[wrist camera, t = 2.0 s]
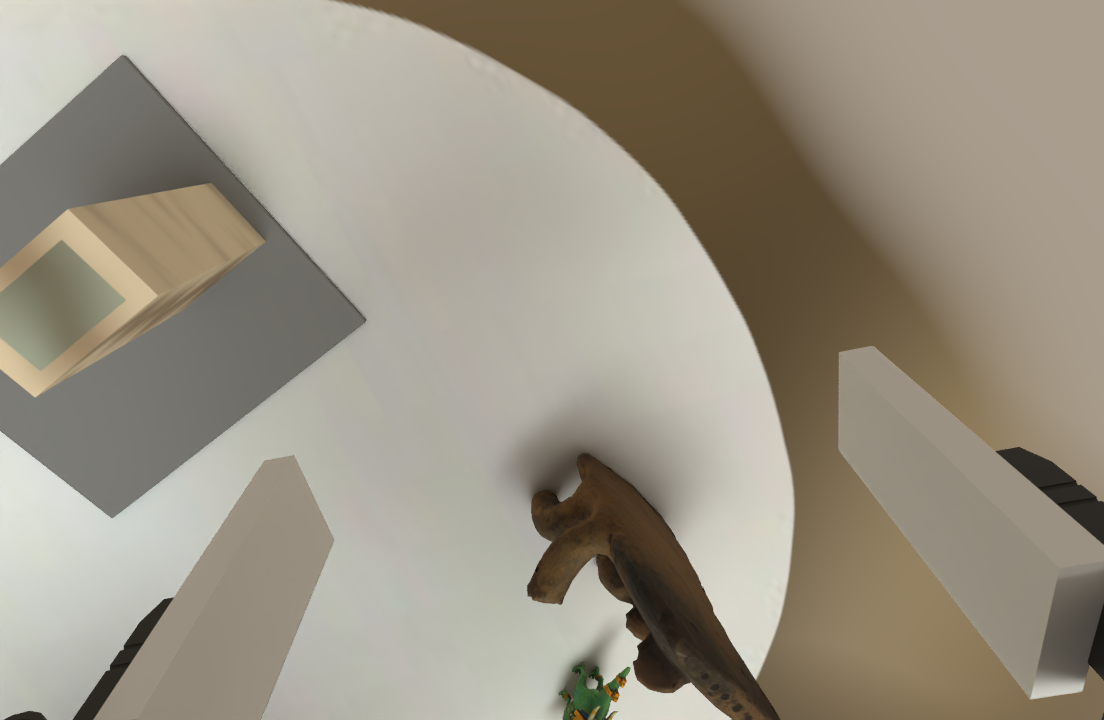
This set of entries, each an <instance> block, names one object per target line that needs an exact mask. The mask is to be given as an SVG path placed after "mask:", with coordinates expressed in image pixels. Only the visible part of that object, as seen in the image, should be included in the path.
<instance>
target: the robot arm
mask: <svg viewBox="0 0 1104 720" xmlns="http://www.w3.org/2000/svg"><path fill="white" fill-rule="evenodd" d="M839 451H840V452H841V454H842V455H843V456H844V458H845V459H846V460H847V462H848V463H849V464H850V465H851V467H852V468H853V469H854V471H855V472H856V473H857V475H858V476H859V477H860V478H861V480H862V481H863V482H864V483H865V485H866V486H867V488H868V489H869V490H870V491H871V493H872V494H873V495H874V497H875V498H876V499H877V501H878V502H879V503H880V504H881V506H882V507H883V508H884V510H885V511H886V512H887V514H888V515H889V516H890V517H891V519H892V520H893V521H894V522H895V524H896V525H897V527H898V528H899V529H900V530H901V532H902V533H903V534H904V536H905V537H906V538H907V539H908V541H909V542H910V543H911V544H912V546H913V547H914V548H915V550H916V551H917V553H918V554H919V555H920V556H921V558H922V559H923V560H924V562H925V563H926V564H927V566H928V567H929V568H930V569H931V571H932V572H933V573H934V575H935V576H936V577H937V579H938V580H939V581H940V583H941V584H942V585H943V586H944V588H945V589H946V590H947V592H948V593H949V594H950V596H951V597H952V598H953V599H954V601H955V602H956V603H957V605H958V606H959V607H960V609H961V610H962V611H963V612H964V614H965V615H966V616H967V617H968V619H969V620H970V622H971V623H972V624H973V625H974V626H975V628H976V629H977V631H978V632H979V633H980V635H981V636H982V637H983V638H984V640H985V641H986V642H987V644H988V645H989V646H990V648H991V649H992V650H993V651H994V653H995V654H996V655H997V657H998V658H999V659H1000V660H1001V662H1002V663H1003V664H1004V666H1005V667H1006V668H1007V670H1008V671H1009V672H1010V673H1011V675H1012V676H1013V677H1014V679H1015V680H1016V681H1017V683H1018V684H1019V685H1020V687H1021V688H1022V689H1023V690H1024V692H1025V693H1026V694H1027V696H1028V697H1029V698H1030V699H1036V698H1042V697H1049V696H1056V695H1062V694H1069V693H1076V692H1082V690H1083V687H1084V683H1085V680H1086V676H1087V672H1088V669H1089V665H1090V666H1091V667H1092V668H1093V669H1094V670H1095V671H1096V672H1097V673H1098V674H1099V676H1100V677H1102V679H1103V680H1104V502H1102V501H1098V500H1097V498H1096V496H1095V495H1093V494H1092V493H1091V492H1090V491H1088V490H1087V489H1086V488H1084V487H1083V486H1082V485H1077V483H1076V480H1074V479H1073V478H1072V477H1071V476H1069V475H1068V474H1067V473H1065V472H1064V471H1063V470H1062V469H1060V468H1059V467H1058V466H1057V465H1055V464H1054V463H1053V462H1051V461H1049V460H1047V459H1045V458H1043V457H1040V456H1038V455H1036V454H1034V453H1031V452H1029V451H1027V450H1025V449H1022V448H1020V447H1017V448H1012V449H1005V450H1000V451H994V450H993V449H992V448H991V447H989V446H988V445H987V444H986V443H985V442H984V441H983V440H981V439H980V438H979V437H978V436H977V435H976V434H974V433H973V432H972V431H971V430H970V429H969V428H968V427H966V426H965V425H964V424H963V423H962V422H961V421H959V420H958V419H957V418H956V417H955V416H954V415H952V414H951V413H950V412H949V411H948V410H947V409H945V408H944V407H943V406H942V405H941V404H939V403H938V402H937V401H936V400H935V399H934V398H933V397H932V396H930V395H929V394H928V393H927V392H926V391H925V390H923V389H922V388H921V387H920V386H919V385H918V384H917V383H915V382H914V381H913V380H912V379H910V378H909V377H908V376H907V375H906V374H905V373H904V372H903V371H901V370H900V369H899V368H898V367H897V366H896V365H894V364H893V363H892V362H891V361H890V360H889V359H887V358H886V357H885V356H884V355H883V354H882V353H881V352H879V351H878V350H877V349H876V348H875V347H874V346H870V347H865V348H859V349H854V350H849V351H844V352H839ZM333 542H334V538H333V536H332V534H331V532H330V530H329V528H328V526H327V524H326V522H325V520H324V517H323V515H322V513H321V511H320V509H319V507H318V505H317V503H316V501H315V498H314V496H313V494H312V492H311V490H310V488H309V486H308V484H307V482H306V479H305V477H304V475H303V473H302V471H301V469H300V467H299V465H298V463H297V460H296V458H295V456H294V455H293V456H288V457H283V458H278V459H272V460H267V461H264V462H263V464H262V465H261V467H260V468H259V470H258V471H257V473H256V474H255V476H254V477H253V479H252V480H251V482H250V483H249V485H248V486H247V488H246V489H245V491H244V492H243V494H242V495H241V497H240V498H239V500H238V501H237V503H236V504H235V506H234V508H233V509H232V511H231V512H230V514H229V515H228V517H227V518H226V520H225V521H224V523H223V524H222V526H221V527H220V529H219V530H218V532H217V533H216V535H215V536H214V538H213V539H212V541H211V542H210V544H209V545H208V547H207V548H206V550H205V551H204V553H203V554H202V556H201V558H200V559H199V561H198V562H197V564H196V565H195V567H194V568H193V570H192V571H191V573H190V574H189V576H188V577H187V579H186V580H185V582H184V583H183V585H182V586H181V588H180V589H179V591H178V592H177V594H176V595H175V597H173V598H168V599H164V600H163V601H162V602H161V603H160V604H159V605H158V606H157V607H155V608H154V609H153V610H152V611H151V612H150V613H149V614H148V615H147V616H146V617H145V618H144V619H143V620H142V621H141V622H140V623H139V624H138V626H137V627H136V629H135V630H134V632H133V633H132V635H131V636H130V637H129V639H128V640H127V642H126V643H125V645H124V650H122V651H120V652H119V653H118V655H117V656H116V658H115V659H114V661H113V662H112V663H111V665H110V670H109V671H106V672H105V674H104V675H103V677H102V678H101V679H100V681H99V682H98V684H97V685H96V687H95V688H94V690H93V691H92V692H91V694H90V695H89V697H88V698H87V700H86V701H85V703H84V704H83V705H82V707H81V708H80V710H79V711H78V713H77V714H76V716H75V717H74V718H73V720H261V718H262V715H263V713H264V711H265V708H266V706H267V703H268V701H269V698H270V696H271V693H272V691H273V689H274V686H275V684H276V681H277V679H278V676H279V674H280V671H281V669H282V667H283V664H284V662H285V659H286V657H287V654H288V652H289V649H290V647H291V645H292V642H293V640H294V637H295V635H296V632H297V630H298V627H299V625H300V623H301V620H302V618H303V615H304V613H305V610H306V608H307V605H308V603H309V601H310V598H311V596H312V593H313V591H314V588H315V586H316V583H317V581H318V579H319V576H320V574H321V571H322V569H323V566H324V564H325V561H326V559H327V557H328V554H329V552H330V549H331V547H332V544H333ZM4 720H47V719H46V718H45V717H44V716H43V715H42V714H41V713H39V712H33V711H27V712H23V713H20V714H16V715H12V716H10V717H8V718H6V719H4ZM1102 720H1104V714H1103V717H1102Z"/></svg>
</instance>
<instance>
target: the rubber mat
mask: <svg viewBox="0 0 1104 720" xmlns="http://www.w3.org/2000/svg"><path fill="white" fill-rule="evenodd" d="M207 183H212V184H213V185H214V186H215V187H216V188H217V189H218V190H219V191H220V193H221V194H222V195H223V196H224V197H225V198H226V199H227V200H228V201H229V202H230V203H231V204H232V205H233V206H234V208H235V209H236V210H237V211H238V212H239V213H240V214H241V215H242V216H243V217H244V218H245V219H246V220H247V222H248V223H249V224H250V225H251V226H252V227H253V228H254V229H255V230H256V231H257V232H258V233H259V234H260V235H261V237H262V238H263V239H264V240H265V241H266V242H265V243H264V244H263V245H261V246H260V247H259V248H258V249H256V250H255V251H254V252H253V253H252V254H250V255H249V256H248V257H247V258H246V259H244V260H243V261H242V262H241V263H239V264H238V265H237V266H236V267H235V268H233V269H232V270H231V271H230V272H228V273H227V274H226V275H225V276H224V277H222V278H221V279H220V280H219V281H217V282H216V283H215V284H214V285H213V286H211V287H210V288H209V289H208V290H206V291H205V292H204V293H203V294H202V295H200V296H199V297H198V298H197V299H195V300H194V301H193V302H192V303H191V304H189V305H188V306H187V307H186V308H184V309H183V310H182V311H181V312H179V313H178V314H176V315H174V316H172V317H171V318H169V319H167V320H166V321H164V322H162V323H161V324H159V325H157V326H156V327H154V328H152V329H150V330H149V331H147V332H145V333H144V334H142V335H140V336H139V337H137V338H135V339H134V340H132V341H130V342H128V343H127V344H125V345H123V346H122V347H120V348H118V349H117V350H115V351H113V352H112V353H110V354H108V355H106V356H105V357H103V358H101V359H100V360H98V361H96V362H95V363H93V364H91V365H90V366H88V367H86V368H84V369H83V370H81V371H79V372H78V373H76V374H74V375H73V376H71V377H69V378H68V379H66V380H64V381H62V382H61V383H59V384H57V385H56V386H54V387H52V388H51V389H49V390H47V391H46V392H44V393H42V394H40V395H39V396H37V397H34V396H32V395H31V394H30V393H29V392H28V391H26V390H25V389H24V388H23V387H21V386H20V385H19V384H18V383H17V382H15V381H14V380H13V379H12V378H10V377H9V376H8V375H7V374H6V373H4V372H3V371H2V370H1V369H0V431H1V432H2V433H4V434H5V435H6V436H7V437H9V438H10V439H11V440H13V441H14V442H15V443H16V444H18V445H19V446H20V447H22V448H23V449H24V450H25V451H27V452H28V453H29V454H30V455H32V456H33V457H34V458H36V459H37V460H38V461H39V462H41V463H42V464H43V465H44V466H46V467H47V468H48V469H50V470H51V471H52V472H53V473H55V474H56V475H57V476H59V477H60V478H61V479H62V480H64V481H65V482H66V483H67V484H69V485H70V486H71V487H73V488H74V489H75V490H76V491H78V492H79V493H80V494H81V495H83V496H84V497H85V498H87V499H88V500H89V501H90V502H92V503H93V504H94V505H96V506H97V507H98V508H99V509H101V510H102V511H103V512H104V513H106V514H107V515H108V516H110V517H111V518H114V517H115V516H116V515H117V514H119V513H120V512H121V511H123V510H124V509H125V508H126V507H128V506H129V505H130V504H132V503H133V502H134V501H135V500H137V499H138V498H139V497H141V496H142V495H143V494H145V493H146V492H147V491H148V490H150V489H151V488H152V487H154V486H155V485H156V484H157V483H159V482H160V481H161V480H163V479H164V478H165V477H166V476H168V475H169V474H170V473H172V472H173V471H174V470H175V469H177V468H178V467H179V466H181V465H182V464H183V463H184V462H186V461H187V460H188V459H190V458H191V457H192V456H193V455H195V454H196V453H197V452H199V451H200V450H201V449H202V448H204V447H205V446H206V445H208V444H209V443H210V442H211V441H213V440H214V439H215V438H217V437H218V436H219V435H220V434H222V433H223V432H224V431H226V430H227V429H228V428H230V427H231V426H232V425H233V424H235V423H236V422H237V421H239V420H240V419H241V418H242V417H244V416H245V415H246V414H248V413H249V412H250V411H251V410H253V409H254V408H255V407H257V406H258V405H259V404H260V403H262V402H263V401H264V400H266V399H267V398H268V397H269V396H271V395H272V394H273V393H275V392H276V391H277V390H278V389H280V388H281V387H282V386H284V385H285V384H286V383H287V382H289V381H290V380H291V379H293V378H294V377H295V376H296V375H298V374H299V373H300V372H302V371H303V370H304V369H305V368H307V367H308V366H309V365H311V364H312V363H313V362H315V361H316V360H317V359H318V358H320V357H321V356H322V355H324V354H325V353H326V352H327V351H329V350H330V349H331V348H333V347H334V346H335V345H336V344H338V343H339V342H340V341H342V340H343V339H344V338H345V337H347V336H348V335H349V334H351V333H352V332H353V331H354V330H356V329H357V328H358V327H360V326H361V325H362V324H363V323H365V322H366V319H365V318H364V317H363V316H362V315H361V314H360V313H359V312H358V311H357V310H356V308H355V307H354V306H353V305H352V304H351V303H350V302H349V301H348V300H347V299H346V297H345V296H344V295H343V294H342V293H341V292H340V291H339V290H338V289H337V288H336V286H335V285H334V284H333V283H332V282H331V281H330V280H329V279H328V278H327V277H326V276H325V274H324V273H323V272H322V271H321V270H320V269H319V268H318V267H317V266H316V265H315V263H314V262H313V261H312V260H311V259H310V258H309V257H308V256H307V255H306V254H305V252H304V251H303V250H302V249H301V248H300V247H299V246H298V245H297V244H296V243H295V242H294V240H293V239H292V238H291V237H290V236H289V235H288V234H287V233H286V232H285V231H284V229H283V228H282V227H281V226H280V225H279V224H278V223H277V222H276V221H275V220H274V218H273V217H272V216H271V215H270V214H269V213H268V212H267V211H266V210H265V209H264V208H263V206H262V205H261V204H260V203H259V202H258V201H257V200H256V199H255V198H254V197H253V195H252V194H251V193H250V192H249V191H248V190H247V189H246V188H245V187H244V186H243V185H242V183H241V182H240V181H239V180H238V179H237V178H236V177H235V176H234V175H233V174H232V172H231V171H230V170H229V169H228V168H227V167H226V166H225V165H224V164H223V163H222V161H221V160H220V159H219V158H218V157H217V156H216V155H215V154H214V153H213V152H212V151H211V149H210V148H209V147H208V146H207V145H206V144H205V143H204V142H203V141H202V140H201V138H200V137H199V136H198V135H197V134H196V133H195V132H194V131H193V130H192V129H191V127H190V126H189V125H188V124H187V123H186V122H185V121H184V120H183V119H182V118H181V117H180V115H179V114H178V113H177V112H176V111H175V110H174V109H173V108H172V107H171V106H170V104H169V103H168V102H167V101H166V100H165V99H164V98H163V97H162V96H161V95H160V93H159V92H158V91H157V90H156V89H155V88H154V87H153V86H152V85H151V84H150V83H149V81H148V80H147V79H146V78H145V77H144V76H143V75H142V74H141V73H140V72H139V70H138V69H137V68H136V67H135V66H134V65H133V64H132V63H131V62H130V61H129V60H128V58H127V57H126V56H120V57H119V58H118V59H117V60H116V61H115V62H114V63H113V64H112V65H110V66H109V67H108V68H107V69H106V70H105V71H104V72H103V73H102V74H101V75H99V76H98V77H97V78H96V79H95V80H94V81H93V82H92V83H91V84H89V85H88V86H87V87H86V88H85V89H84V90H83V91H82V92H81V93H80V94H78V95H77V96H76V97H75V98H74V99H73V100H72V101H71V102H70V103H68V104H67V105H66V106H65V107H64V108H63V109H62V110H61V111H60V112H59V113H57V114H56V115H55V116H54V117H53V118H52V119H51V120H50V121H49V122H48V123H46V124H45V125H44V126H43V127H42V128H41V129H40V130H39V131H38V132H36V133H35V134H34V135H33V136H32V137H31V138H30V139H29V140H28V141H27V142H25V143H24V144H23V145H22V146H21V147H20V148H19V149H18V150H17V151H15V152H14V153H13V154H12V155H11V156H10V157H9V158H8V159H7V160H6V161H4V162H3V163H2V164H1V165H0V268H1V267H2V266H3V265H4V264H6V263H7V262H8V261H9V260H10V259H11V258H12V257H14V256H15V255H16V254H17V253H18V252H19V251H20V250H22V249H23V248H24V247H25V246H26V245H27V244H28V243H30V242H31V241H32V240H33V239H34V238H35V237H36V236H38V235H39V234H40V233H41V232H42V231H43V230H44V229H46V228H47V227H48V226H49V225H50V224H51V223H52V222H54V221H55V220H56V219H57V218H58V217H59V216H60V215H62V214H63V213H64V212H65V211H66V210H67V209H70V208H76V207H81V206H87V205H92V204H98V203H103V202H109V201H114V200H120V199H125V198H131V197H136V196H142V195H147V194H153V193H158V192H163V191H169V190H174V189H180V188H185V187H191V186H196V185H202V184H207Z"/></svg>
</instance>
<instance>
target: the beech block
mask: <svg viewBox="0 0 1104 720" xmlns="http://www.w3.org/2000/svg"><path fill="white" fill-rule="evenodd" d="M265 242H266V241H265V240H264V239H263V238H262V237H261V235H260V234H259V233H258V232H257V231H256V230H255V229H254V228H253V227H252V226H251V225H250V224H249V223H248V222H247V220H246V219H245V218H244V217H243V216H242V215H241V214H240V213H239V212H238V211H237V210H236V209H235V208H234V206H233V205H232V204H231V203H230V202H229V201H228V200H227V199H226V198H225V197H224V196H223V195H222V194H221V193H220V191H219V190H218V189H217V188H216V187H215V186H214V185H213V184H212V183H207V184H202V185H196V186H191V187H185V188H180V189H174V190H169V191H163V192H158V193H153V194H147V195H142V196H136V197H131V198H125V199H120V200H114V201H109V202H103V203H98V204H92V205H87V206H81V207H76V208H70V209H67V210H66V211H65V212H64V213H63V214H62V215H60V216H59V217H58V218H57V219H56V220H55V221H54V222H52V223H51V224H50V225H49V226H48V227H47V228H46V229H44V230H43V231H42V232H41V233H40V234H39V235H38V236H36V237H35V238H34V239H33V240H32V241H31V242H30V243H28V244H27V245H26V246H25V247H24V248H23V249H22V250H20V251H19V252H18V253H17V254H16V255H15V256H14V257H12V258H11V259H10V260H9V261H8V262H7V263H6V264H4V265H3V266H2V267H1V268H0V369H1V370H2V371H3V372H4V373H6V374H7V375H8V376H9V377H10V378H12V379H13V380H14V381H15V382H17V383H18V384H19V385H20V386H21V387H23V388H24V389H25V390H26V391H28V392H29V393H30V394H31V395H32V396H34V397H37V396H39V395H40V394H42V393H44V392H46V391H47V390H49V389H51V388H52V387H54V386H56V385H57V384H59V383H61V382H62V381H64V380H66V379H68V378H69V377H71V376H73V375H74V374H76V373H78V372H79V371H81V370H83V369H84V368H86V367H88V366H90V365H91V364H93V363H95V362H96V361H98V360H100V359H101V358H103V357H105V356H106V355H108V354H110V353H112V352H113V351H115V350H117V349H118V348H120V347H122V346H123V345H125V344H127V343H128V342H130V341H132V340H134V339H135V338H137V337H139V336H140V335H142V334H144V333H145V332H147V331H149V330H150V329H152V328H154V327H156V326H157V325H159V324H161V323H162V322H164V321H166V320H167V319H169V318H171V317H172V316H174V315H176V314H178V313H179V312H181V311H182V310H183V309H184V308H186V307H187V306H188V305H189V304H191V303H192V302H193V301H194V300H195V299H197V298H198V297H199V296H200V295H202V294H203V293H204V292H205V291H206V290H208V289H209V288H210V287H211V286H213V285H214V284H215V283H216V282H217V281H219V280H220V279H221V278H222V277H224V276H225V275H226V274H227V273H228V272H230V271H231V270H232V269H233V268H235V267H236V266H237V265H238V264H239V263H241V262H242V261H243V260H244V259H246V258H247V257H248V256H249V255H250V254H252V253H253V252H254V251H255V250H256V249H258V248H259V247H260V246H261V245H263V244H264V243H265Z"/></svg>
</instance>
